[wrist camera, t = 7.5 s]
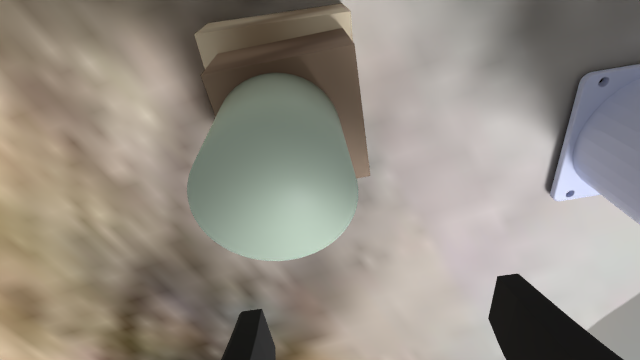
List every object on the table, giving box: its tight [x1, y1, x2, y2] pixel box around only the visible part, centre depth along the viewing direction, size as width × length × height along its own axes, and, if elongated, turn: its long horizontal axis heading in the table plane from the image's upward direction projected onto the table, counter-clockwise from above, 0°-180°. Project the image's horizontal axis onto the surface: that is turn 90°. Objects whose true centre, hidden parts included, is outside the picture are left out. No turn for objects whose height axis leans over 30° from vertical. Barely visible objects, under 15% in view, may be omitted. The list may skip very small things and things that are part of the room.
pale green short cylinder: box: [187, 73, 358, 261], centre depth 11 cm, size 4×4×4 cm
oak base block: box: [194, 3, 353, 69], centre depth 16 cm, size 6×6×3 cm
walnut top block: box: [201, 28, 370, 178], centre depth 14 cm, size 5×5×3 cm
